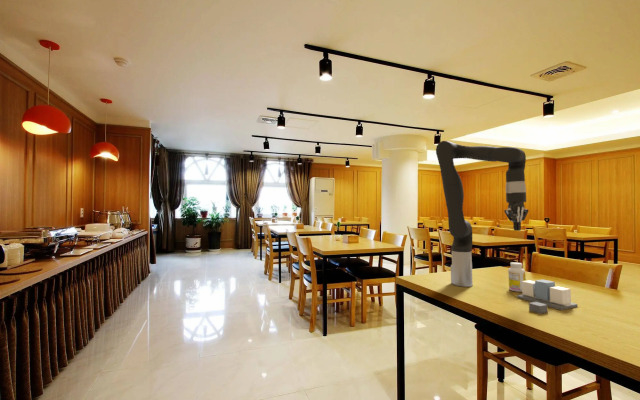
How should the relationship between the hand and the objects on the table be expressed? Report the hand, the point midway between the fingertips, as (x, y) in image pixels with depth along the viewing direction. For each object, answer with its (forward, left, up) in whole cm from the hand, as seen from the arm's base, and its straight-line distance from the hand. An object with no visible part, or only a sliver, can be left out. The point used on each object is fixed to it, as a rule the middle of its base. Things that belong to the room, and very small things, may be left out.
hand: (517, 230), depth 129 cm
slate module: (+10, +1, -28) cm, 29 cm away
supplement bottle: (-6, +7, -29) cm, 31 cm away
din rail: (+10, +1, -29) cm, 31 cm away
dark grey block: (+16, -13, -29) cm, 36 cm away
